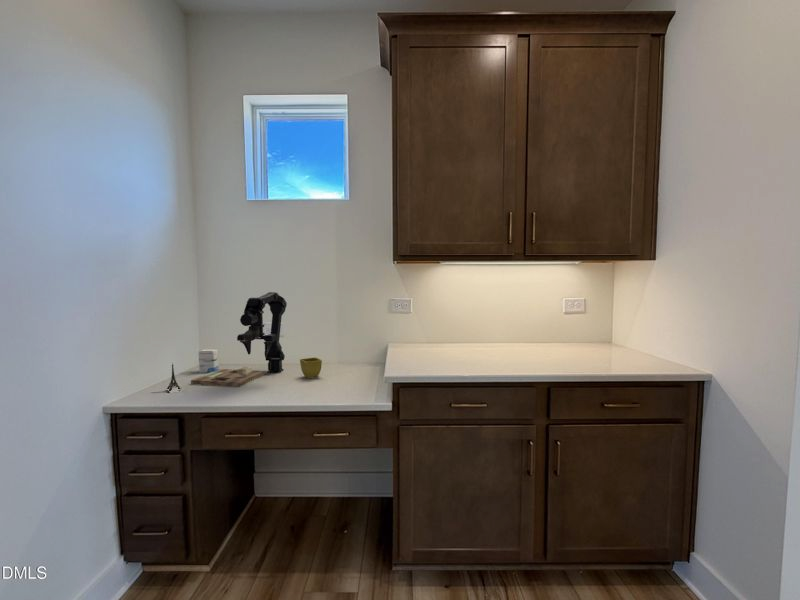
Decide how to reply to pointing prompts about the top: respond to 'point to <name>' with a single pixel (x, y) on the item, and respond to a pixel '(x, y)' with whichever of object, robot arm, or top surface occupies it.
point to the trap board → (226, 378)
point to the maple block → (244, 372)
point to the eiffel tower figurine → (173, 380)
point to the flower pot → (311, 367)
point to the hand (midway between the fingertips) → (257, 354)
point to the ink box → (208, 360)
